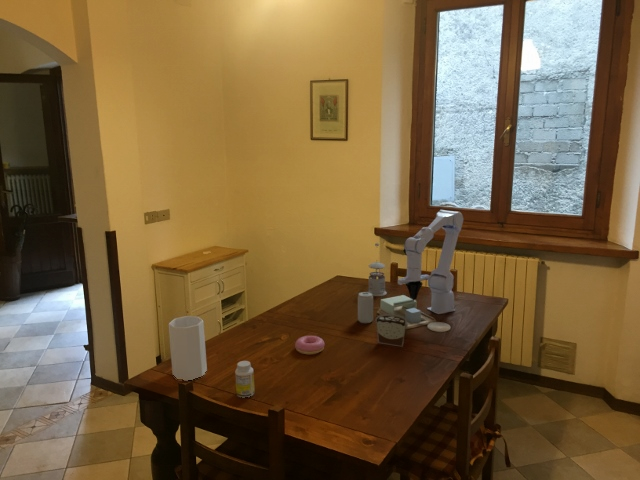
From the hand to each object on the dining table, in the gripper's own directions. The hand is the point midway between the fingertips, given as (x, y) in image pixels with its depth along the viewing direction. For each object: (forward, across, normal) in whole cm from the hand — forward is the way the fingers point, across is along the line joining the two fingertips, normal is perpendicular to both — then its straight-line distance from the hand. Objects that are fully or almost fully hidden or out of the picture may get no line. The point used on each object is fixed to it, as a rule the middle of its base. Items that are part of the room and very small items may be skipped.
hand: (413, 298), depth 214 cm
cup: (+10, +93, +2) cm, 94 cm away
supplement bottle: (+10, +81, +24) cm, 85 cm away
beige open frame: (+10, 0, -5) cm, 11 cm away
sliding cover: (+9, 0, -10) cm, 14 cm away
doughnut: (+10, +49, +4) cm, 51 cm away
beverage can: (+10, +17, -10) cm, 22 cm away
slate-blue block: (+10, 0, 0) cm, 10 cm away
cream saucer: (+10, -5, +10) cm, 15 cm away
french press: (+10, -8, -40) cm, 42 cm away
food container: (+10, +19, +13) cm, 25 cm away
